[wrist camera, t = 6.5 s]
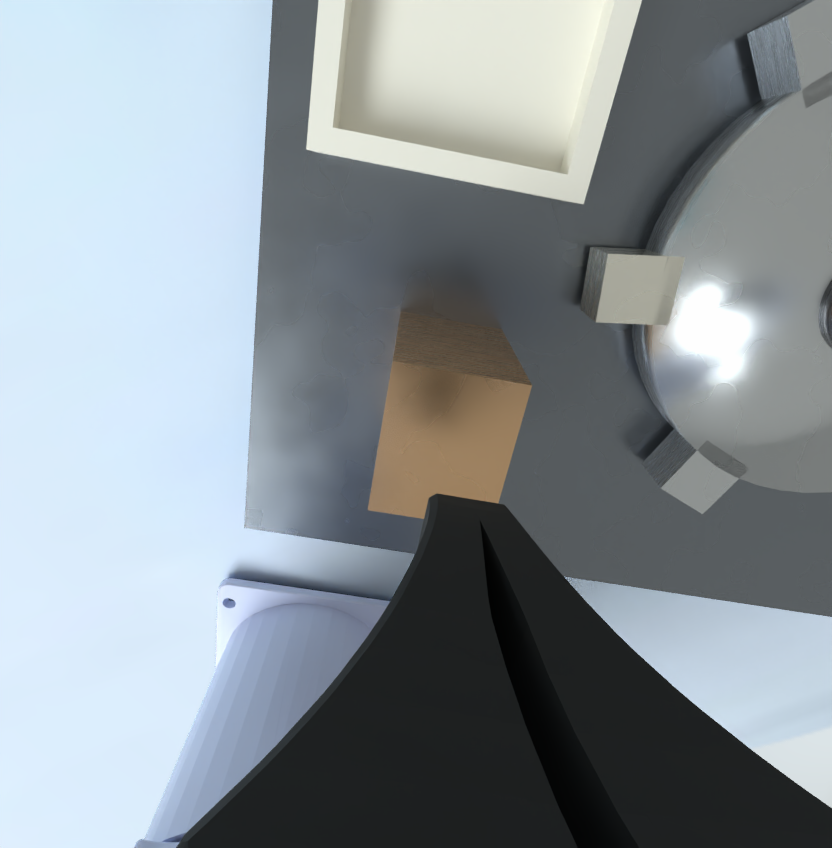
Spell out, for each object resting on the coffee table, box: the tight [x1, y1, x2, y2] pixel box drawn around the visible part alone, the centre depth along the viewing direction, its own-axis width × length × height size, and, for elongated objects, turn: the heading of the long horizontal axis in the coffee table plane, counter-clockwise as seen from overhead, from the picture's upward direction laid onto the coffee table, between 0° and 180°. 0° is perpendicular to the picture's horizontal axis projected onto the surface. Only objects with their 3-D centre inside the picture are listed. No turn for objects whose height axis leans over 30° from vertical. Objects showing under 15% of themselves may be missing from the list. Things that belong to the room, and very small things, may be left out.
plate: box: [244, 0, 832, 617], centre depth 17 cm, size 20×24×1 cm
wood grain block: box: [368, 311, 532, 519], centre depth 15 cm, size 4×3×5 cm
